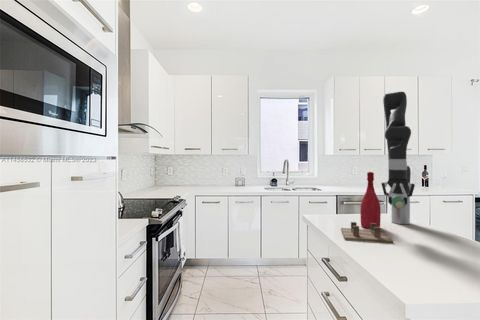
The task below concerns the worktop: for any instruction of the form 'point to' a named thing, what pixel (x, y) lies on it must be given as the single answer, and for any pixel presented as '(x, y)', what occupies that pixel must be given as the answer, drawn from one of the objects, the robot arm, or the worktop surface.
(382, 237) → the walnut bottle rack
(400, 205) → the green bottle
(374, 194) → the wine bottle
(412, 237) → the worktop surface
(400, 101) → the robot arm
